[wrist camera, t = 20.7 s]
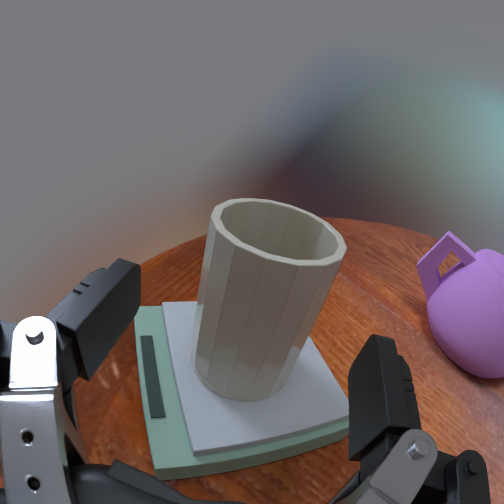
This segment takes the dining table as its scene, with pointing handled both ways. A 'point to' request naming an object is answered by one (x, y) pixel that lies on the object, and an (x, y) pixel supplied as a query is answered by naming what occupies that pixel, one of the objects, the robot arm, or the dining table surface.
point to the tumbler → (260, 294)
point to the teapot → (466, 305)
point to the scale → (226, 405)
